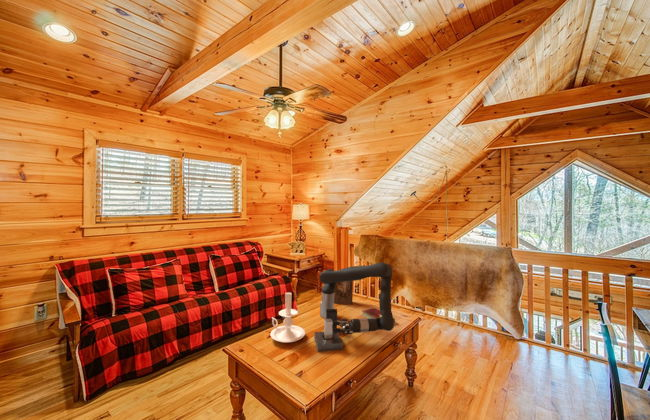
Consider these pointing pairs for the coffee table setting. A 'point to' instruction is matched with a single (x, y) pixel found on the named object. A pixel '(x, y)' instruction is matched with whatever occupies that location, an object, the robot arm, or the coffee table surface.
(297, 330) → the candlestick
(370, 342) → the coffee table surface
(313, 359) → the coffee table surface
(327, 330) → the square bit
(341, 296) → the book
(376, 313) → the hardcover book
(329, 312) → the block
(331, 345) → the bore plate
